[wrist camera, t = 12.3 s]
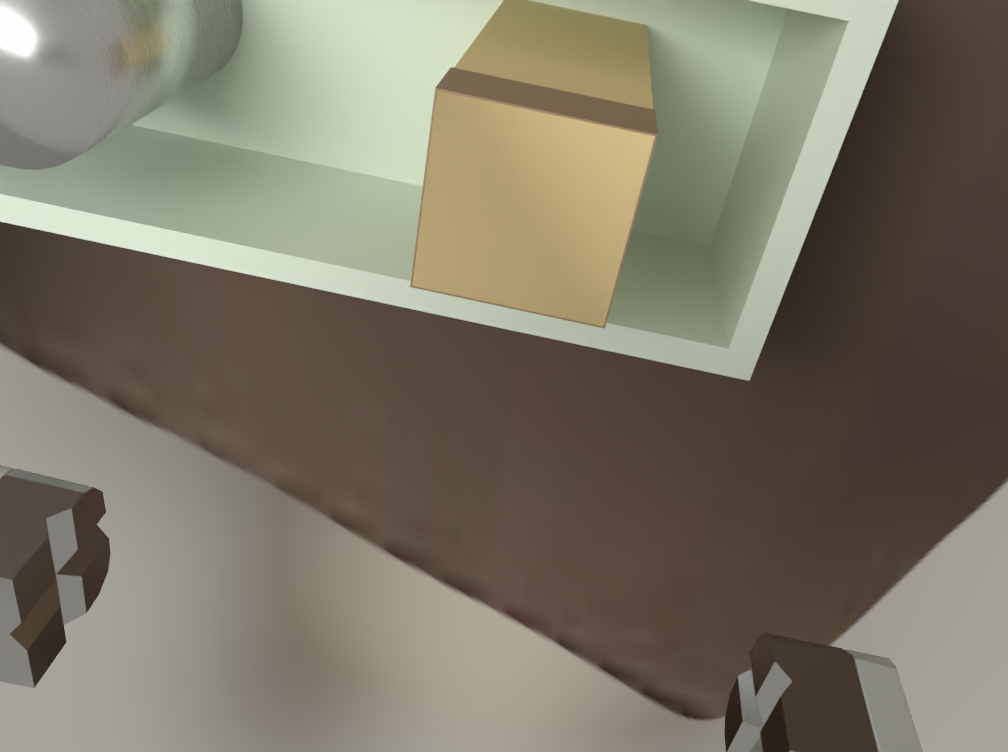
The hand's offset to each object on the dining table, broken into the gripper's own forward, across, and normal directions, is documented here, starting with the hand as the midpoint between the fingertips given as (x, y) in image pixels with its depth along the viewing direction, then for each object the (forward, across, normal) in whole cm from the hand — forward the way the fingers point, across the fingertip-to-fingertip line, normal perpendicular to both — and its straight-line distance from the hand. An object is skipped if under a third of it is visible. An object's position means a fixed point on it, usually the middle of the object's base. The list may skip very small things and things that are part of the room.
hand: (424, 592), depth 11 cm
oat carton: (+25, 0, 0) cm, 25 cm away
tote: (+26, +6, 0) cm, 27 cm away
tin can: (+25, +15, 0) cm, 29 cm away
